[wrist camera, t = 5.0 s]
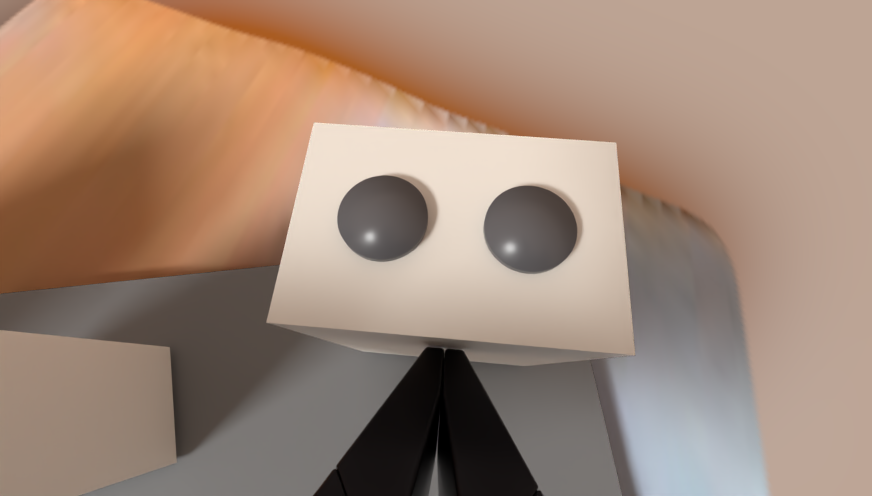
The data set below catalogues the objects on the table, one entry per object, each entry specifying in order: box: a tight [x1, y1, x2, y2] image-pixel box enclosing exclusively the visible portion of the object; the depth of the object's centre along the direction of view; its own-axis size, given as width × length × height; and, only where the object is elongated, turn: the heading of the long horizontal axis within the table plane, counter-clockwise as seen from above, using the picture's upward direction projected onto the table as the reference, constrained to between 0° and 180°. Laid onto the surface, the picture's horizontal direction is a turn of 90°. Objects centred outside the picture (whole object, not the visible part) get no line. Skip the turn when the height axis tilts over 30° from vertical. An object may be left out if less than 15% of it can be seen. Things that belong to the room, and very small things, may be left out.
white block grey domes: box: [266, 123, 635, 366], centre depth 10 cm, size 4×6×8 cm
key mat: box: [0, 265, 622, 496], centre depth 13 cm, size 24×13×1 cm, turn 96°
